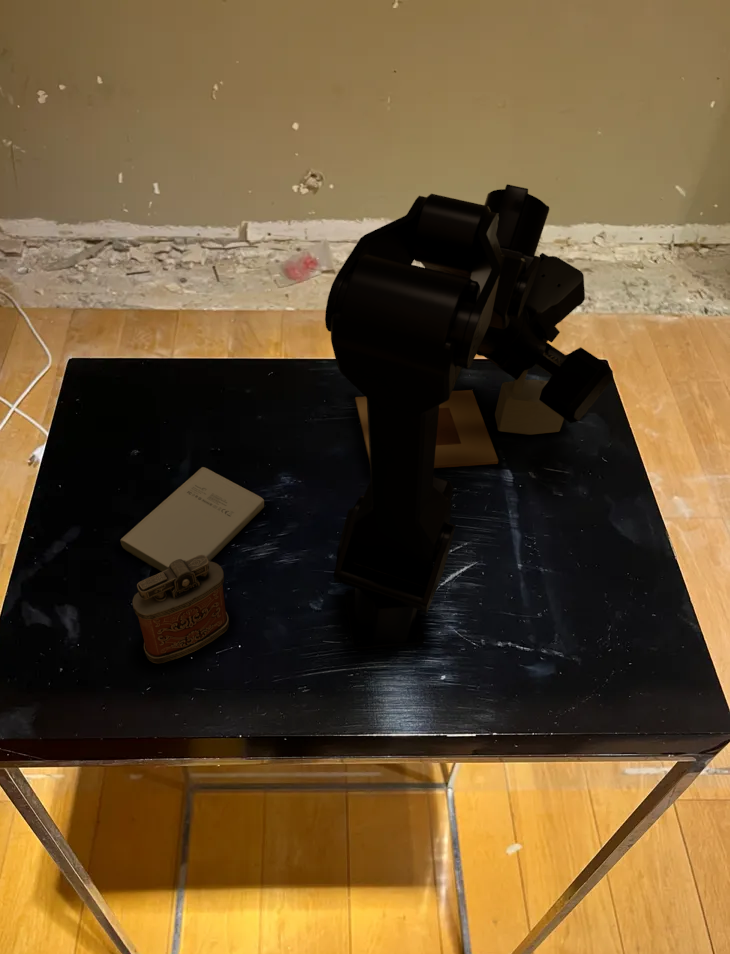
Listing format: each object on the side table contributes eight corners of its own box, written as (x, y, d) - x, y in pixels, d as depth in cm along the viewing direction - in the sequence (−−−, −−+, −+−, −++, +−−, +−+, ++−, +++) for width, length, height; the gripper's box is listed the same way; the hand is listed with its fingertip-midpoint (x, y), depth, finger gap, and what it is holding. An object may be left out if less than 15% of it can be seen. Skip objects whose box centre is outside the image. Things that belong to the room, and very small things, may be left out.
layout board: (497, 463, 90) (498, 459, 90) (371, 472, 89) (372, 468, 88) (471, 393, 98) (472, 389, 97) (355, 400, 96) (355, 396, 96)
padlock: (498, 435, 93) (516, 364, 85) (493, 412, 96) (510, 340, 88) (560, 436, 93) (584, 365, 86) (553, 412, 96) (576, 341, 88)
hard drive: (122, 549, 81) (203, 475, 88) (186, 587, 78) (264, 508, 85) (119, 538, 80) (201, 464, 87) (184, 577, 77) (264, 497, 84)
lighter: (218, 605, 77) (209, 535, 69) (235, 630, 75) (229, 562, 68) (138, 643, 74) (120, 575, 66) (154, 671, 72) (138, 604, 65)
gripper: (632, 296, 70) (668, 355, 83) (479, 205, 80) (533, 271, 93) (547, 402, 73) (595, 444, 86) (409, 302, 83) (471, 353, 95)
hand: (548, 373), depth 90 cm, fingers open, 7 cm apart
